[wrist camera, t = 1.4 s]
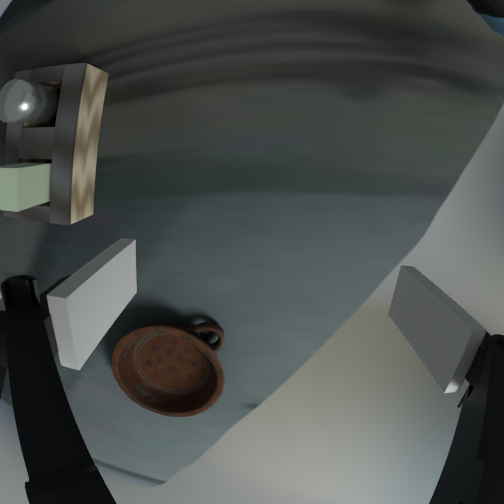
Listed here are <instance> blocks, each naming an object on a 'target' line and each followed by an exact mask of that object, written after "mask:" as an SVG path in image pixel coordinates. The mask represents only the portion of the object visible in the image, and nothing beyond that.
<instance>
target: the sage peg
mask: <svg viewBox="0 0 504 504" xmlns="http://www.w3.org/2000/svg"><path fill="white" fill-rule="evenodd" d="M50 182H51V164H50V163H19V164H12V165H5V166H0V210H6V211H14V212H19V211H21V210H24V209H27V208H30V207H33V206H36V205H39V204H42V203H45V202H49V201H50Z"/></svg>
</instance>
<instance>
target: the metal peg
mask: <svg viewBox="0 0 504 504" xmlns="http://www.w3.org/2000/svg"><path fill="white" fill-rule="evenodd" d="M58 103H59V95H58V92H57V91H56V89H55V88H53V87H51V86H47V85H43V84H38V83H34V82H30V81H25V80H20V79H12V80H10V81H9V82H7V83H6V84H5V85H4V86H3V88H2V89H1V91H0V120H1V121H3V122H9V123H35V124H44V123H46V122H48V121H49V120H51V119H52V118H53V116H54V115H55V113H56V111H57V109H58Z"/></svg>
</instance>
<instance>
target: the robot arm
mask: <svg viewBox="0 0 504 504" xmlns="http://www.w3.org/2000/svg"><path fill="white" fill-rule="evenodd" d="M467 2H468V3H469V4H470V5H471V6H472V9H473V10H474V11H475V12H476V13H477V14H478V15H480V16H481V17H482V18H483V19H484V20H485V21H486V23H487V24H488V25H489V26H490V27H491V28H492V29H493V30H494V31H495V32H496V33H498V34H500V35H503V36H504V0H467ZM1 289H2V294H3V299H4V304H5V308H6V311H0V398H1V393H2V389H3V384H4V380H5V375H6V371H7V367H8V371H9V380H10V388H11V396H12V403H13V409H14V415H15V420H16V426H17V431H18V436H19V440H20V445H21V449H22V453H23V457H24V461H25V465H26V468H27V472H28V476H29V482H25V489H26V493H27V497H28V500H29V503H30V504H116V502H115V500H114V498H113V497H112V495H111V493H110V491H109V489H108V488H107V486H106V484H105V482H104V480H103V478H102V476H101V475H100V472H99V471H98V469H97V467H96V466H95V464H94V462H93V460H92V458H91V456H90V453H89V451H88V449H87V447H86V445H85V442H84V440H83V438H82V436H81V433H80V431H79V428H78V426H77V423H76V421H75V418H74V416H73V413H72V411H71V408H70V405H69V403H68V400H67V397H66V394H65V391H64V389H63V386H62V383H61V380H60V376H59V373H58V370H57V367H56V364H55V360H54V356H55V355H56V354H57V352H58V354H59V358H60V362H61V365H62V366H65V367H69V368H73V369H76V370H80V369H81V367H82V366H83V364H84V363H85V362H86V360H87V359H88V357H89V356H90V354H91V353H92V352H93V350H94V349H95V347H96V346H97V345H98V343H99V342H100V341H101V339H102V338H103V336H104V335H105V334H106V332H107V331H108V330H109V328H110V327H111V326H112V324H113V323H114V321H115V320H116V319H117V317H118V316H119V315H120V313H121V312H122V311H123V309H124V308H125V307H126V305H127V304H128V303H129V302H130V300H131V299H132V298H133V296H134V295H135V294H136V292H137V286H136V240H134V239H123V238H121V239H119V240H118V241H117V242H115V243H114V244H113V245H111V246H110V247H108V248H107V249H106V250H104V251H103V252H102V253H100V254H99V255H98V256H96V257H95V258H93V259H92V260H91V261H89V262H88V263H87V264H86V265H84V266H83V267H82V268H80V269H79V270H78V271H76V272H75V273H74V274H72V275H69V276H66V277H64V278H61V279H60V280H59V281H57V282H56V283H55V284H54V285H52V286H51V287H50V288H49V289H47V290H46V291H44V292H43V293H42V294H41V295H39V292H38V286H37V280H36V278H35V277H33V276H30V275H18V276H13V277H10V278H8V279H6V280H5V281H3V282H2V284H1ZM388 314H389V316H390V317H391V319H392V320H393V321H394V323H395V324H396V325H397V327H398V328H399V329H400V331H401V332H402V333H403V335H404V336H405V338H406V339H407V340H408V342H409V343H410V345H411V346H412V347H413V349H414V350H415V351H416V353H417V354H418V356H419V357H420V358H421V360H422V361H423V363H424V364H425V366H426V367H427V369H428V370H429V371H430V373H431V374H432V376H433V377H434V379H435V380H436V382H437V383H438V384H439V386H440V388H441V389H442V391H443V392H444V393H449V392H457V391H459V389H460V388H461V386H462V384H463V382H464V380H465V378H466V380H467V381H468V382H469V387H468V388H467V390H466V392H465V394H464V396H463V398H462V399H461V401H460V403H459V405H458V406H457V407H460V406H461V405H462V408H461V412H460V417H459V420H458V424H457V427H456V431H455V434H454V438H453V441H452V444H451V447H450V450H449V453H448V456H447V459H446V462H445V465H444V468H443V470H442V473H441V476H440V478H439V481H438V484H437V486H436V489H435V491H434V493H433V496H432V498H431V501H430V503H429V504H504V335H499V334H495V335H493V336H491V335H490V334H489V333H488V332H487V331H486V329H485V328H484V327H482V325H481V324H479V323H478V322H477V321H476V320H475V319H474V318H473V317H472V316H471V315H469V314H468V313H467V312H466V311H465V310H464V309H463V308H462V307H461V306H459V305H458V304H457V303H456V302H455V301H454V300H452V299H451V298H450V297H449V296H448V295H447V294H446V293H444V292H443V291H442V290H441V289H440V288H439V287H437V286H436V285H435V284H434V283H433V282H431V281H430V280H429V279H428V278H426V277H425V276H424V275H423V274H422V273H421V272H419V271H418V270H417V269H416V268H414V267H411V266H401V267H400V272H399V276H398V280H397V284H396V288H395V291H394V295H393V299H392V303H391V306H390V309H389V313H388Z"/></svg>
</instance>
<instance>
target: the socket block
mask: <svg viewBox="0 0 504 504" xmlns="http://www.w3.org/2000/svg"><path fill="white" fill-rule="evenodd" d="M108 75H109V73H106V72H104V71H102V70H100V69H98V68H96V67H94V66H92V65H89V64H87V63H76V64H66V65H58V66H50V67H43V68H37V69H31V70H25V71H19V72H16V73H15V78H14V79H20V80H25V81H30V82H34V83H38V84H43V85H47V86H51V87H53V88H55V89H56V90H60V89H61V91H60V97H59V103H58V110H57V117H56V124H55V127H50V122H51V120H49V121H48V122H46V123H44V124H35V123H9V122H7V131H6V142H5V155H4V166H5V165H12V164H19V163H47V159H52V167H51V188H50V201H49V202H45V203H42V204H39V205H36V206H33V207H30V208H27V209H24V210H21V211H19V212H14V211H6V210H3V213H4V216H6V217H13V218H20V219H27V220H34V221H41V222H48V223H55V224H62V225H71V224H73V223H75V222H77V221H79V220H81V219H84V218H86V217H88V216H90V215H92V214H93V203H94V185H95V171H96V159H97V149H98V140H99V131H100V124H101V116H102V110H103V103H104V97H105V91H106V85H107V80H108Z"/></svg>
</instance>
